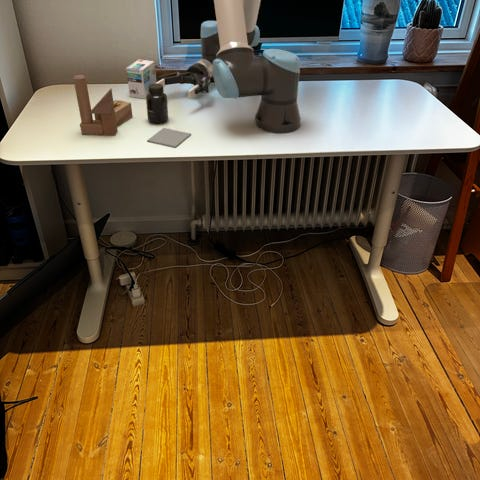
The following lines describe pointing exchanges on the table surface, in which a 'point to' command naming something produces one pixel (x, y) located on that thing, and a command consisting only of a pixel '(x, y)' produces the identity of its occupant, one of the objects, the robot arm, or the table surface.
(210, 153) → the table surface
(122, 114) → the plane block
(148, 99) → the supplement bottle
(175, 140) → the felt pad
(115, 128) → the wooden block
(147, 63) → the light bulb box
